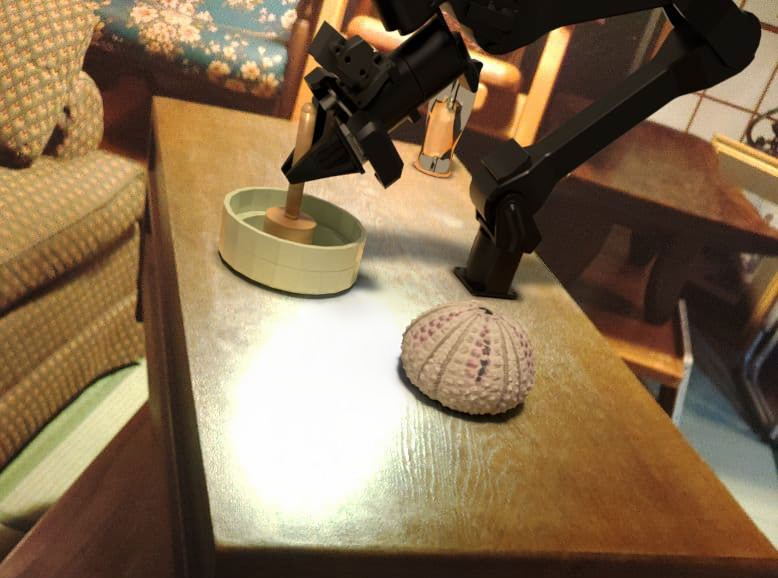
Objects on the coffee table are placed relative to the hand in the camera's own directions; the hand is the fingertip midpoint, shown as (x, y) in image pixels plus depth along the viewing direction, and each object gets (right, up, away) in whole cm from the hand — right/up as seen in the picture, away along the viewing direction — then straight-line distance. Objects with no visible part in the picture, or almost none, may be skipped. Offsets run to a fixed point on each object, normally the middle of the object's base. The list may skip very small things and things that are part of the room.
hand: (285, 176), depth 77 cm
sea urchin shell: (+17, -23, -5) cm, 29 cm away
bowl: (0, -7, +5) cm, 9 cm away
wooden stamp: (0, -5, +5) cm, 7 cm away
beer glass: (+19, +24, +46) cm, 55 cm away
